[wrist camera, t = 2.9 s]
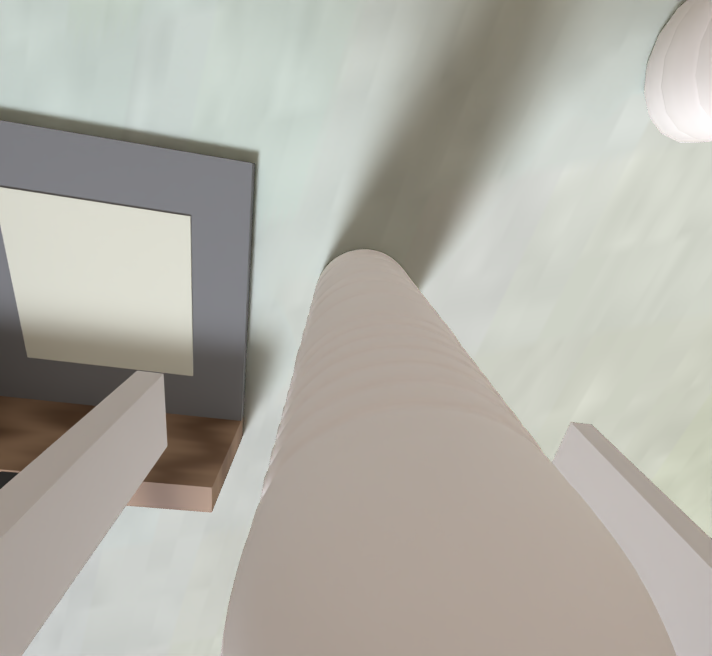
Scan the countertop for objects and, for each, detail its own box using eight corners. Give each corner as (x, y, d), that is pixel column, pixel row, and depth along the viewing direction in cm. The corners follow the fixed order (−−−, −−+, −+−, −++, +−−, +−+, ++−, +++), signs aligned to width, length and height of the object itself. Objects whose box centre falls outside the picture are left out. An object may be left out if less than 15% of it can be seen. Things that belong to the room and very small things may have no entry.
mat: (-8, 389, 25) (-17, 395, 25) (-80, 107, 19) (-95, 104, 18) (243, 416, 27) (240, 421, 26) (254, 163, 21) (252, 163, 20)
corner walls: (-31, 409, 26) (-155, 483, 19) (-120, 100, 19) (-365, 51, 12) (242, 436, 28) (211, 512, 21) (254, 163, 21) (214, 151, 14)
